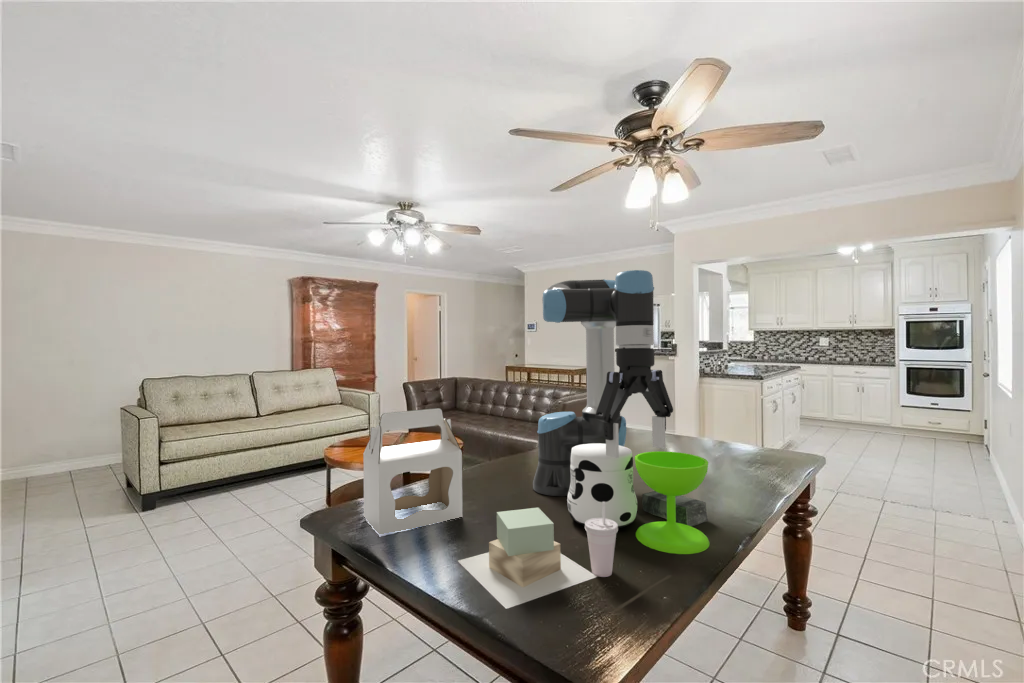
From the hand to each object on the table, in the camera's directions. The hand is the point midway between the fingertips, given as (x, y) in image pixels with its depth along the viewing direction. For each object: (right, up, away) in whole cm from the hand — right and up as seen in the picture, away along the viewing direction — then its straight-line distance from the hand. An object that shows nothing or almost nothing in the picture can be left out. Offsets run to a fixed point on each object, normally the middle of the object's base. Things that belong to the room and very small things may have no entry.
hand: (636, 452), depth 92 cm
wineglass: (+11, -23, +12) cm, 28 cm away
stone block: (+17, -23, +26) cm, 39 cm away
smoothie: (-8, -23, -4) cm, 24 cm away
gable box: (-51, -24, +25) cm, 61 cm away
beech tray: (-23, -22, -2) cm, 32 cm away
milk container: (-3, -23, +22) cm, 32 cm away
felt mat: (-23, -23, -2) cm, 32 cm away
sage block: (-23, -17, -2) cm, 29 cm away
